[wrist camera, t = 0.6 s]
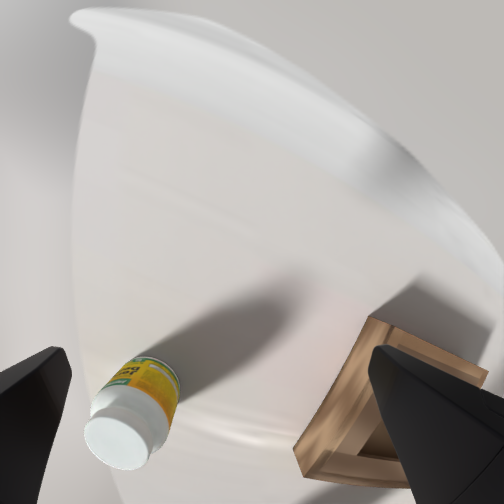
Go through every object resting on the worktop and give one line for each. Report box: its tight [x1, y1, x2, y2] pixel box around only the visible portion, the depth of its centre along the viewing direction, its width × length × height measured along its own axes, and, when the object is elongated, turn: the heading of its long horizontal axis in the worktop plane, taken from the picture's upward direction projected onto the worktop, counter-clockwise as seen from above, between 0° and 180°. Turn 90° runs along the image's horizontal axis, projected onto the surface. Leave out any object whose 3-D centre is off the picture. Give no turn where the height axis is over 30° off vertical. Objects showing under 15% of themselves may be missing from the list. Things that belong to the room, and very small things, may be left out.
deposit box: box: [293, 316, 489, 489], centre depth 22 cm, size 14×14×4 cm
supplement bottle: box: [84, 357, 180, 470], centre depth 18 cm, size 5×5×10 cm
